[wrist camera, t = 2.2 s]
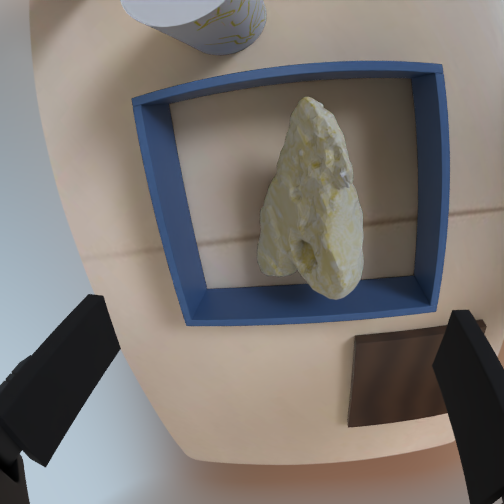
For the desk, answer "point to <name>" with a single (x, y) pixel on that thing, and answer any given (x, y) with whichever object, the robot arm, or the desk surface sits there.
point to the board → (396, 377)
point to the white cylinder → (203, 21)
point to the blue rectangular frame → (301, 295)
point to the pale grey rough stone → (313, 207)
